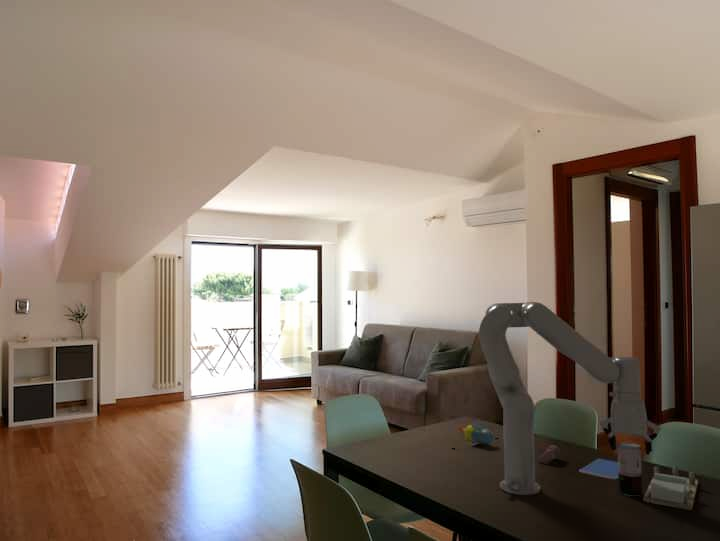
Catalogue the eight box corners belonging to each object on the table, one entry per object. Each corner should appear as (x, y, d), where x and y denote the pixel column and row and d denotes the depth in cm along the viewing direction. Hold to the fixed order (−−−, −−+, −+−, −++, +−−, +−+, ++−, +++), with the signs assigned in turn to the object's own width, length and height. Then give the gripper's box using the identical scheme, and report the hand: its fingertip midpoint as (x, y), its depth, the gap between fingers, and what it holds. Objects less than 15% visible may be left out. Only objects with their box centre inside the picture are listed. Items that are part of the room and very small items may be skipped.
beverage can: (635, 489, 172) (633, 441, 173) (646, 497, 166) (644, 447, 167) (614, 489, 172) (613, 442, 173) (625, 497, 166) (624, 448, 166)
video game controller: (547, 468, 199) (555, 453, 197) (536, 461, 201) (544, 445, 200) (555, 462, 207) (563, 446, 205) (544, 454, 209) (552, 439, 208)
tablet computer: (598, 461, 204) (598, 457, 204) (634, 468, 195) (634, 464, 195) (578, 473, 190) (577, 470, 190) (615, 482, 181) (615, 478, 181)
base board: (691, 510, 155) (691, 493, 156) (643, 501, 163) (642, 485, 163) (698, 483, 177) (697, 468, 178) (655, 476, 185) (654, 462, 185)
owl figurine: (484, 416, 242) (512, 423, 230) (484, 435, 242) (512, 443, 230) (439, 425, 226) (466, 433, 214) (439, 446, 226) (466, 455, 213)
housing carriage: (683, 503, 157) (682, 487, 157) (651, 497, 162) (650, 482, 162) (686, 493, 165) (685, 477, 165) (655, 487, 170) (654, 472, 170)
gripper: (595, 396, 172) (598, 450, 172) (657, 401, 162) (660, 458, 162) (600, 392, 179) (603, 445, 178) (660, 396, 169) (663, 452, 168)
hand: (630, 451), depth 170 cm, fingers open, 9 cm apart
